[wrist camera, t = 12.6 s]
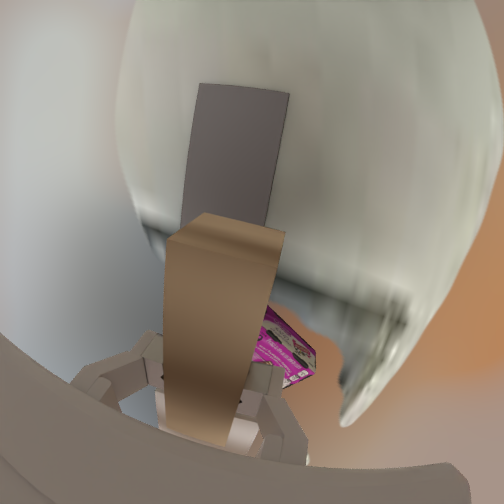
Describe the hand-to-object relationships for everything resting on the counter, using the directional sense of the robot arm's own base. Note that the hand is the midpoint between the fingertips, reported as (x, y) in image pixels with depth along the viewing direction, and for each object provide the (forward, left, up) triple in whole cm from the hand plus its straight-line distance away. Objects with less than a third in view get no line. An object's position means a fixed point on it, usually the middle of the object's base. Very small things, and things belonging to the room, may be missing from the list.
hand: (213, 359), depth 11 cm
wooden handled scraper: (+3, 0, -1) cm, 3 cm away
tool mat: (-2, -6, -22) cm, 23 cm away
